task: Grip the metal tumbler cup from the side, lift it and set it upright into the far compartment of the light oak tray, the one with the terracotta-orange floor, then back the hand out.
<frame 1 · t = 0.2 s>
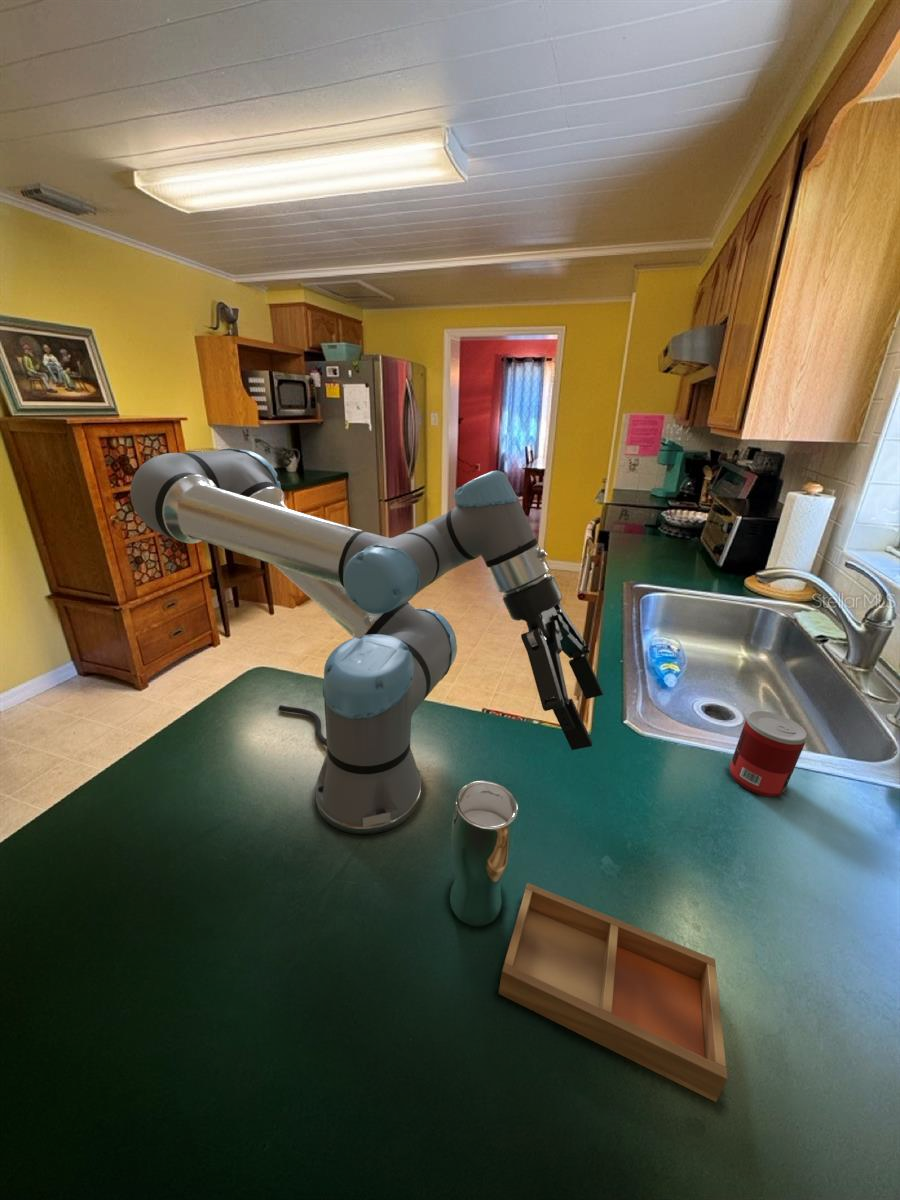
hand: (589, 719, 66), 14 cm above the kitchen counter, tool tilted 35°, fingers open, 13 cm apart
metal tumbler cup: (475, 901, 55), on the kitchen counter
canned food: (755, 781, 77), on the kitchen counter
tray: (604, 987, 48), on the kitchen counter
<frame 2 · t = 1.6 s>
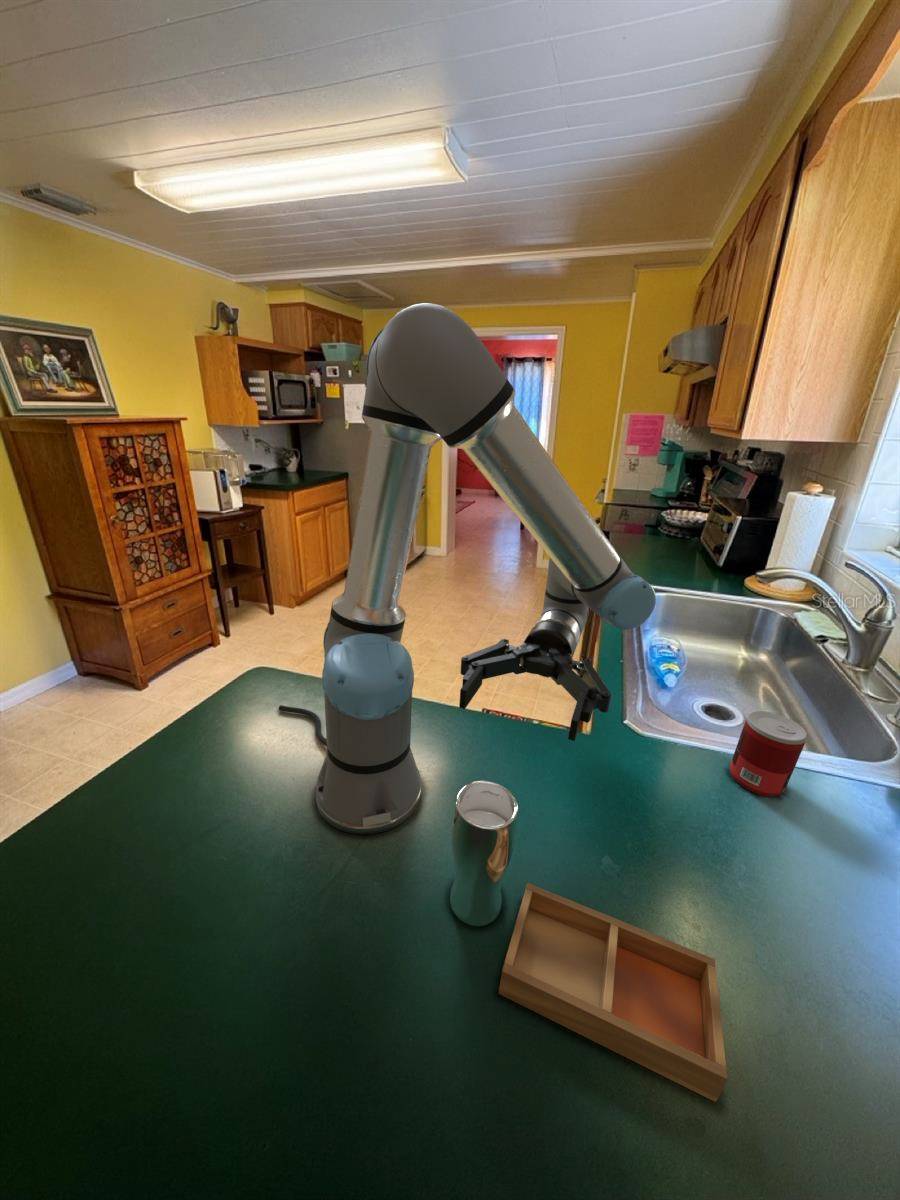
hand: (515, 714, 56), 20 cm above the kitchen counter, tool horizontal, fingers open, 13 cm apart
nothing on the kitchen counter moved.
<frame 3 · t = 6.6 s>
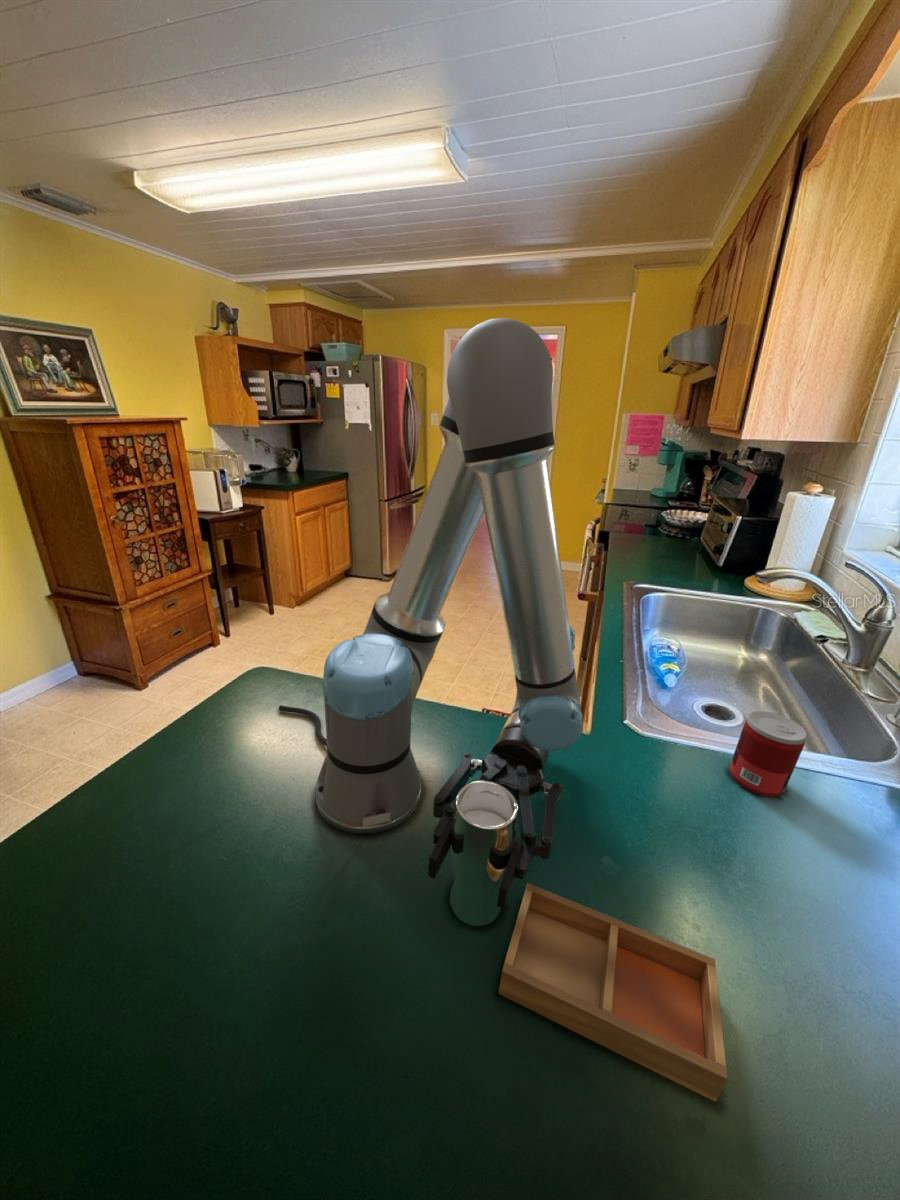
hand: (466, 882, 48), 9 cm above the kitchen counter, tool horizontal, fingers closed on metal tumbler cup, 7 cm apart
metal tumbler cup: (475, 901, 55), on the kitchen counter, touching gripper
everything else where it was.
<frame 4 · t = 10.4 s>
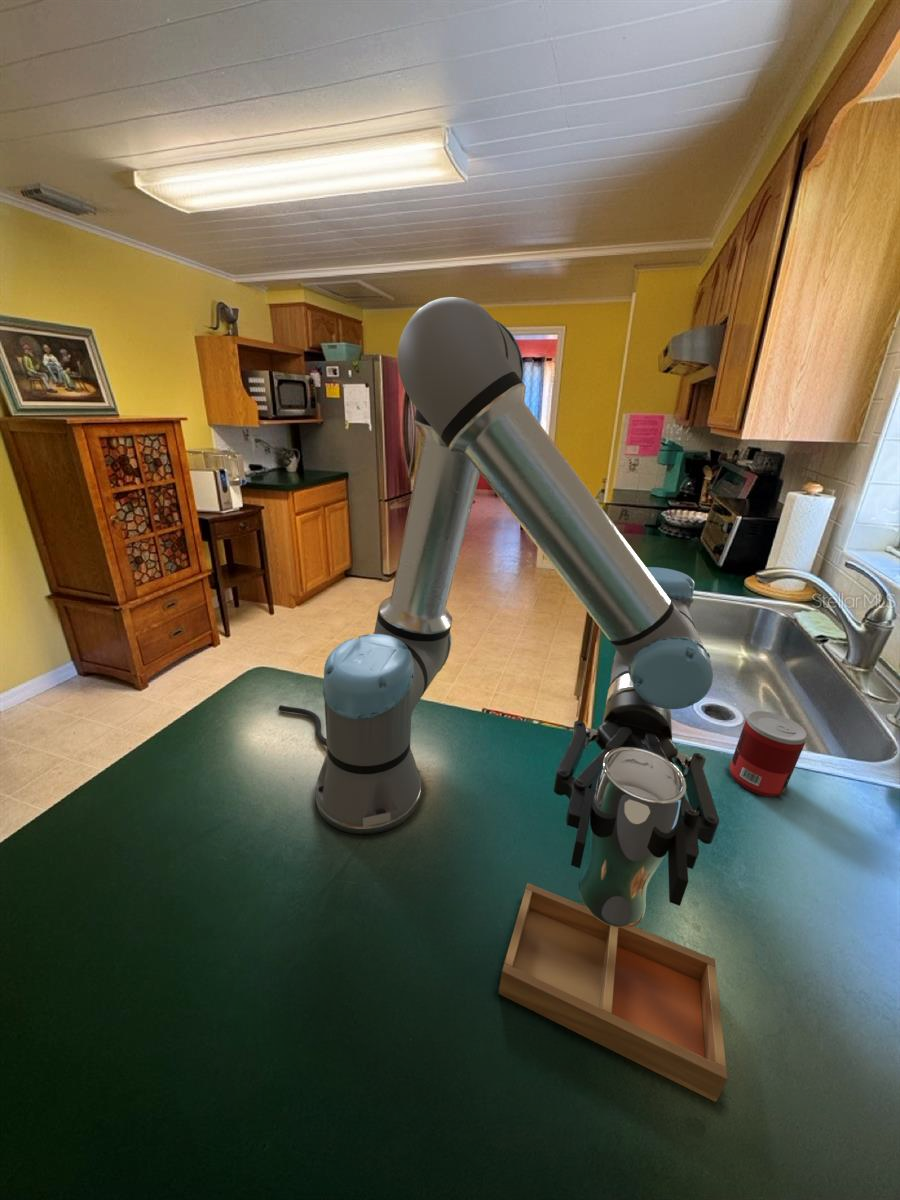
hand: (626, 872, 37), 20 cm above the kitchen counter, tool horizontal, fingers closed on metal tumbler cup, 7 cm apart
metal tumbler cup: (610, 897, 45), point 11 cm above the kitchen counter, touching gripper
everything else where it was.
when the fingers open (10 cm above the kitchen counter, at t = 14.4 s): metal tumbler cup stays where it is, resting on tray.
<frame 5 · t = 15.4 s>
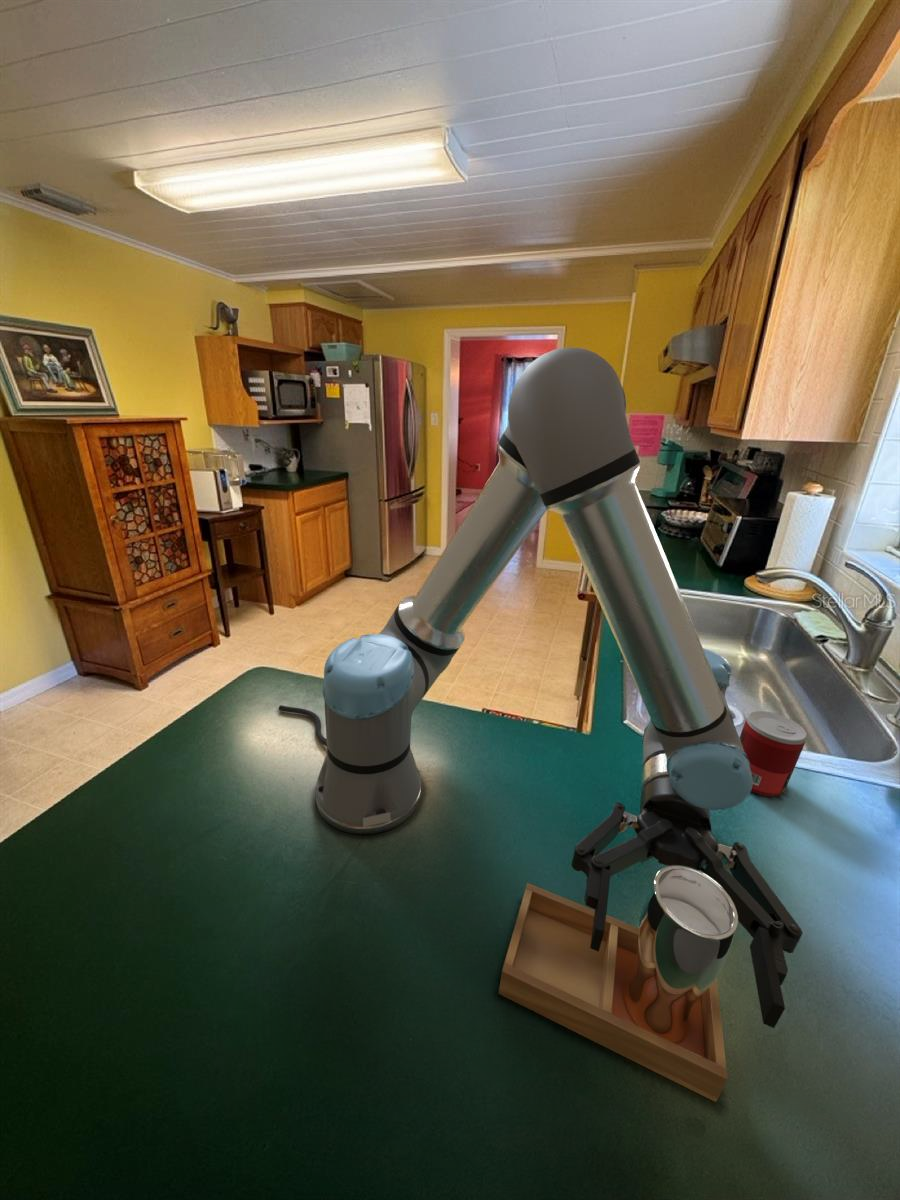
hand: (680, 976, 39), 11 cm above the kitchen counter, tool horizontal, fingers open, 13 cm apart
metal tumbler cup: (655, 1006, 46), point 1 cm above the kitchen counter, touching tray
everything else where it was.
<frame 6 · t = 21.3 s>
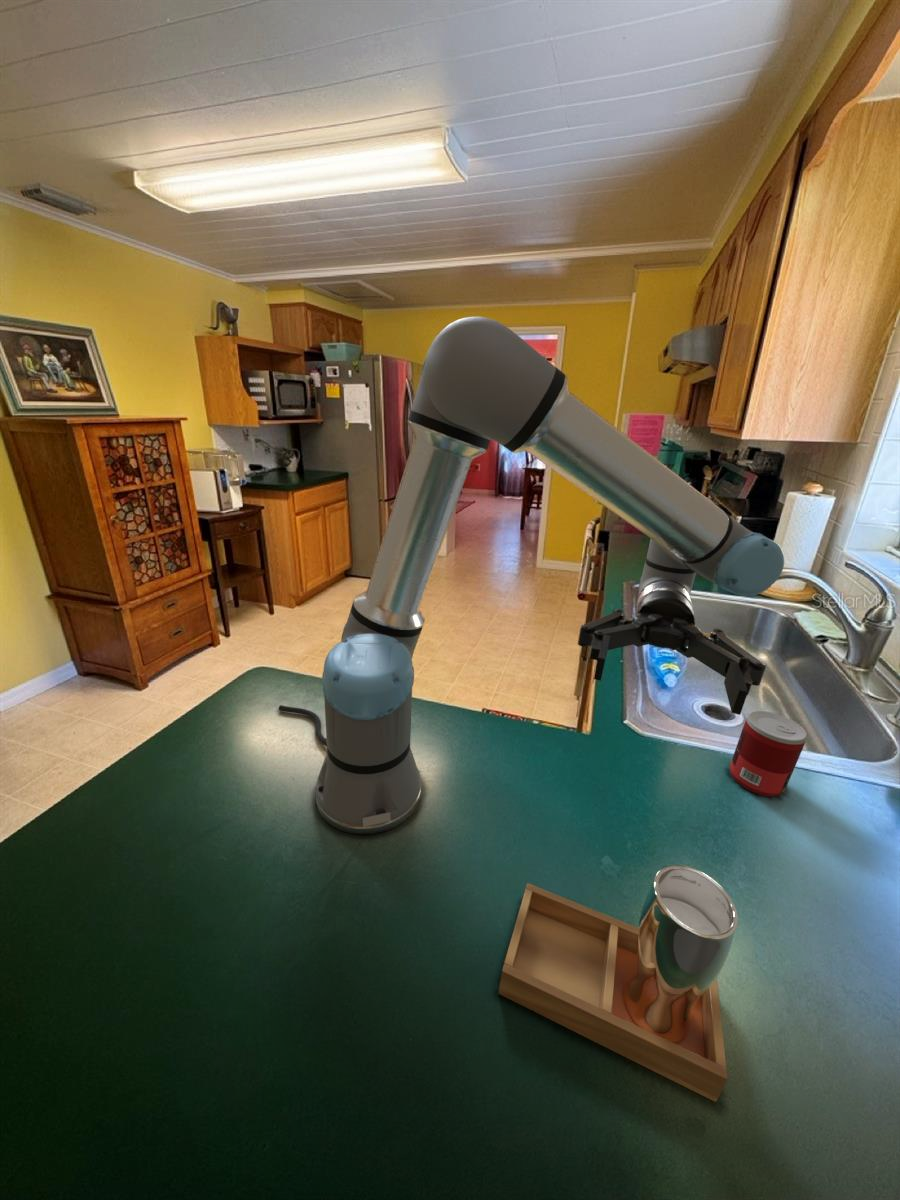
hand: (666, 685, 49), 28 cm above the kitchen counter, tool horizontal, fingers open, 13 cm apart
nothing on the kitchen counter moved.
at the end: metal tumbler cup 0.0 cm from the target spot in the tray, point 0.6 cm above the tray's base; metal tumbler cup tilted 0°; the gripper is holding nothing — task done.
